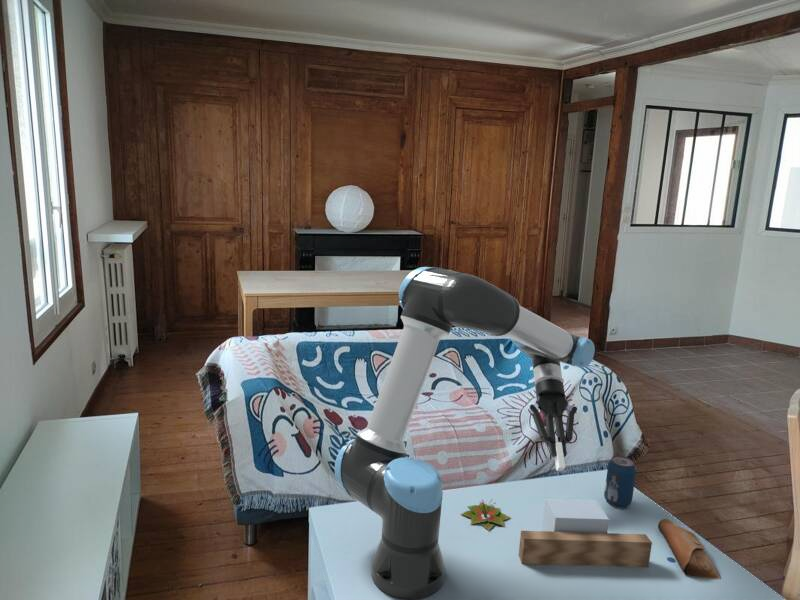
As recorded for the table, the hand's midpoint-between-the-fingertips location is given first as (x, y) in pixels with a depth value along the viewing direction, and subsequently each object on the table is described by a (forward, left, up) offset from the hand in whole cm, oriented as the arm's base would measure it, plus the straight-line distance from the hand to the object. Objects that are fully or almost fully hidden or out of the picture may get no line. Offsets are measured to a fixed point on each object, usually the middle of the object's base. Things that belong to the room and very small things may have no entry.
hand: (560, 469), depth 144 cm
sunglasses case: (+26, -16, -12) cm, 33 cm away
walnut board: (0, -20, -12) cm, 23 cm away
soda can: (+18, +5, -12) cm, 22 cm away
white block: (0, -13, -12) cm, 18 cm away
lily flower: (-19, -3, -12) cm, 23 cm away
